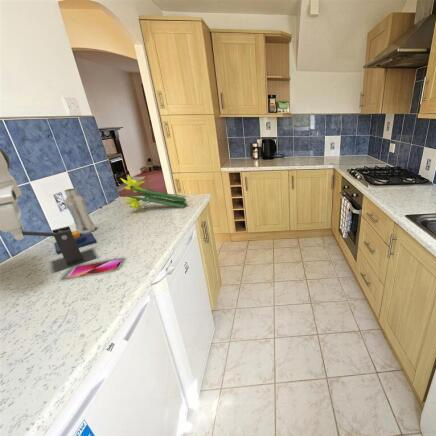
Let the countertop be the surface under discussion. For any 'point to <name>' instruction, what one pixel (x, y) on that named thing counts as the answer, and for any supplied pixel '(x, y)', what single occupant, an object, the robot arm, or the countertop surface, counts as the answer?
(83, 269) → the smartphone
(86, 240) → the boil block
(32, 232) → the switch lever
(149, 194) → the daffodil flowers
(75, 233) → the boil button
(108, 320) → the countertop surface
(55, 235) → the black stand
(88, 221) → the plastic bottle
